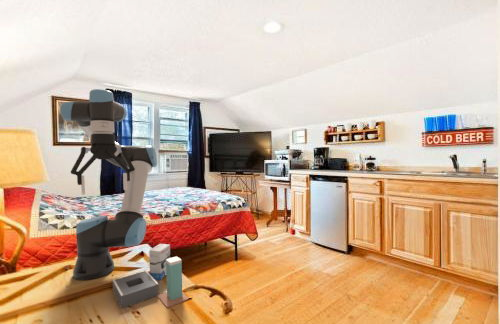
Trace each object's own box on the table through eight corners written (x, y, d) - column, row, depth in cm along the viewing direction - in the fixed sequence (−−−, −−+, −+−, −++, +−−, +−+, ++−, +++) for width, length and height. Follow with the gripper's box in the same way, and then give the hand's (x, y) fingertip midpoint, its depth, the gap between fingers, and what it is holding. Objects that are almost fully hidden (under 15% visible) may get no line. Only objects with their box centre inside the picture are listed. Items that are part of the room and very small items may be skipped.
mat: (157, 296, 91) (157, 295, 91) (181, 287, 97) (181, 286, 97) (166, 308, 84) (166, 306, 84) (192, 298, 90) (192, 296, 90)
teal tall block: (167, 295, 91) (165, 259, 90) (178, 291, 93) (176, 256, 93) (171, 300, 88) (170, 262, 87) (182, 296, 90) (181, 259, 90)
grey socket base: (112, 291, 96) (112, 279, 95) (146, 280, 103) (146, 269, 103) (121, 308, 85) (121, 295, 84) (158, 295, 92) (158, 283, 92)
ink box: (160, 280, 103) (159, 251, 102) (149, 279, 104) (148, 250, 103) (171, 270, 111) (170, 243, 111) (160, 270, 112) (159, 243, 112)
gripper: (60, 131, 83) (63, 197, 84) (141, 133, 99) (143, 189, 99) (59, 133, 89) (62, 194, 90) (136, 135, 104) (138, 187, 105)
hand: (105, 192), depth 95 cm, fingers open, 13 cm apart
